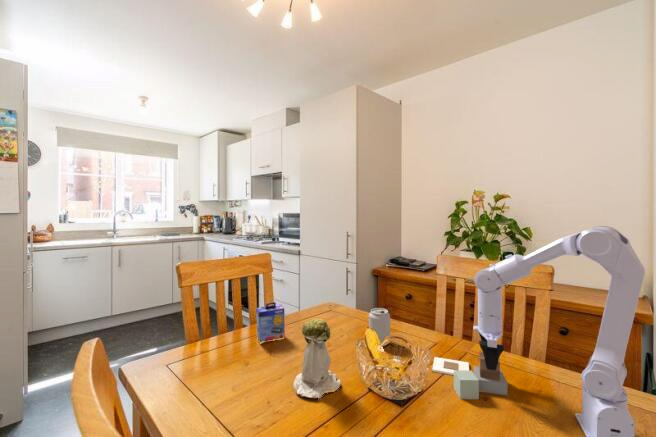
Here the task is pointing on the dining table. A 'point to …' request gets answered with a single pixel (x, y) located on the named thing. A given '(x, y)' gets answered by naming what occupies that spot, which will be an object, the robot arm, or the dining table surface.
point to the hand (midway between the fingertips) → (489, 362)
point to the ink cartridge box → (270, 322)
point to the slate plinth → (491, 383)
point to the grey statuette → (315, 362)
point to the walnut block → (486, 372)
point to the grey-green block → (466, 384)
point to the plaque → (448, 365)
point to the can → (380, 322)
